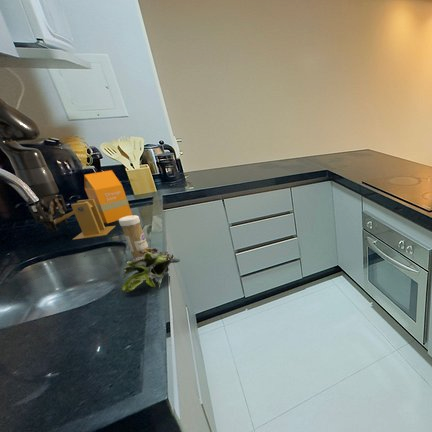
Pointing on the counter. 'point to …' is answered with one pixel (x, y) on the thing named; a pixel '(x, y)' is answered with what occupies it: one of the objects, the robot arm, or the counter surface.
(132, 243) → the sprinkles bottle
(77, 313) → the counter surface
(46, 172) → the robot arm
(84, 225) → the wooden slotted stand
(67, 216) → the lever
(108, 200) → the orange juice
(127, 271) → the green leafy plant
